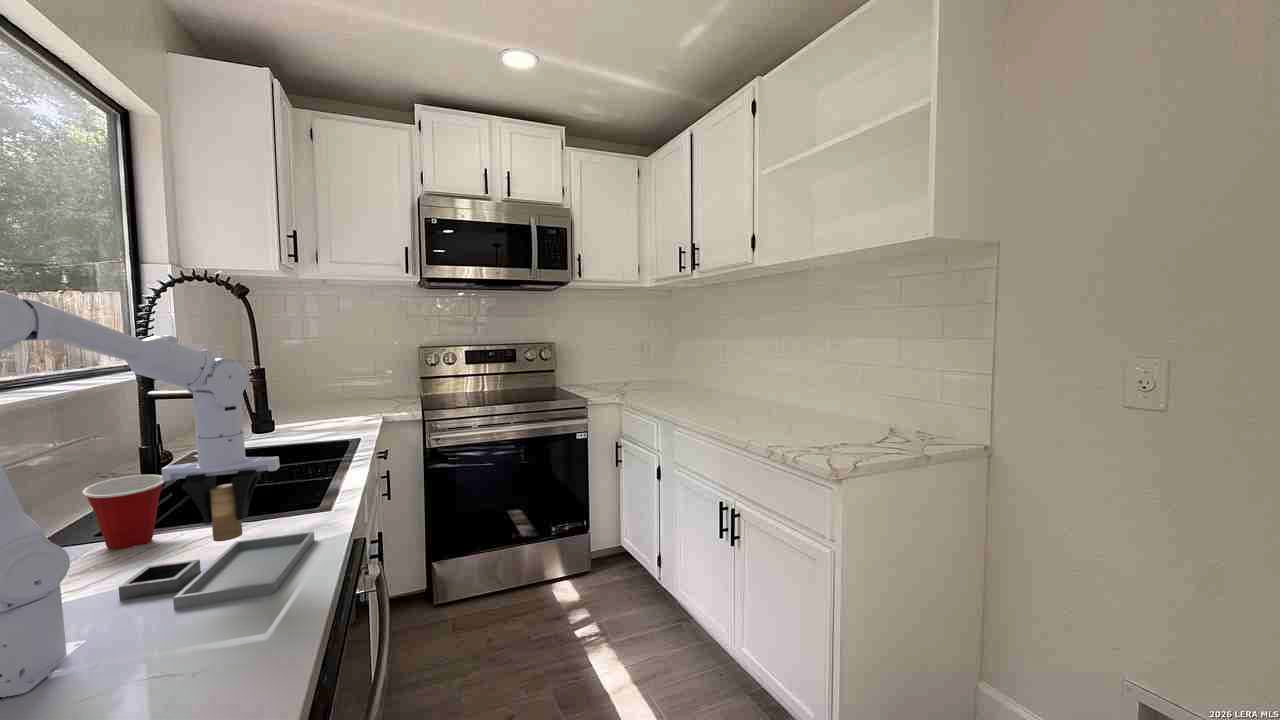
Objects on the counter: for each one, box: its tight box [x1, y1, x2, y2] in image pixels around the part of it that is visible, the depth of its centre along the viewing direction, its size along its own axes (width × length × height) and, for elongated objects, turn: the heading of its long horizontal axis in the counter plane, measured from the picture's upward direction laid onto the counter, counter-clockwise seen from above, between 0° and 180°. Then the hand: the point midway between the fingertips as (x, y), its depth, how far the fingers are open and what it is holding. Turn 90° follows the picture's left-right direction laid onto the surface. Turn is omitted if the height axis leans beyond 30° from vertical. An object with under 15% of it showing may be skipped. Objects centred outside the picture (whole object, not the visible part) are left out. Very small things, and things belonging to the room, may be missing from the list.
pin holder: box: [118, 559, 201, 602], centre depth 78 cm, size 7×7×3 cm
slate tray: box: [172, 531, 315, 610], centre depth 82 cm, size 20×12×2 cm, turn 18°
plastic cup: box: [81, 474, 165, 550], centre depth 94 cm, size 11×11×12 cm
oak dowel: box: [209, 483, 243, 542], centre depth 80 cm, size 4×4×8 cm
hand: (226, 519), depth 80 cm, fingers closed on oak dowel, 4 cm apart
